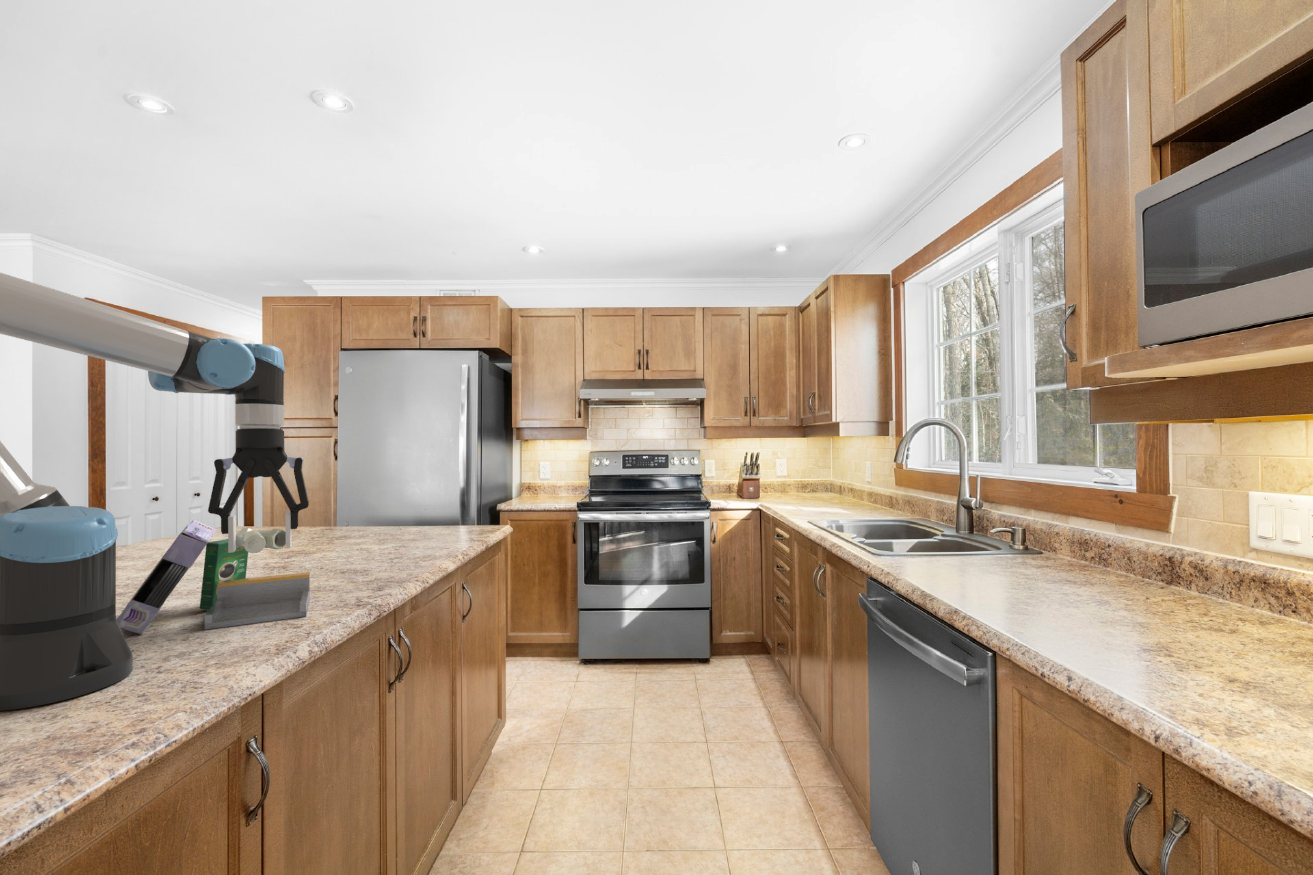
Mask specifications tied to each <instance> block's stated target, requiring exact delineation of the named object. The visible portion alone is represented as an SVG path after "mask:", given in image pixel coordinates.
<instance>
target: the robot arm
mask: <svg viewBox="0 0 1313 875" xmlns="http://www.w3.org/2000/svg"><path fill="white" fill-rule="evenodd" d="M0 335H4V336H8V337H12V338H16V339H19V340H24V341H28V342H33V343H36V344H41V345H44V346H48V347H51V348H52V347H53V348H57V349H60V350H64V351H68V352H72V353H76V354H80V355H83V356H89V357H91V358H92V357H93V358H97V359H99V360H100V359H101V360H103V361H108V362H112V363H116V364H120V365H124V366H127V367H131V368H136V369H140V370H144V371H147V377H148V381H149V384H150V386H151V387H152V388H153V390H156V391H160V392H170V393H174V394H179V393H189V394H191V393H192V394H214V395H216V394H217V395H226V396H227V395H228V396H229V395H234V398H235V401H234V403H235V405H234V406H235V408H234V409H235V417H234V418H235V425H236V426H237V427H239V428H237V429H236V430H235V452H234V454H233V455H232V457H227V458H217V459H215V460H214V461H213V462H214V468H215V475H214V480H213V485H212V490H211V495H210V499H209V504H208V508H207V512H208V513H209V514H211V515H212V514H213V515H217V516H219V517H220V533H221V534H222V535H228V537H227V539H228V553H231V552H234V551H235V550H236V534H237V515H236V514H232V512H233V510H234V507H235V505H236V503H237V502H238V501H239V500H238V499H239V498H240V496H241V494H242V492H243V490H244V489H245V487H246V485H247V483H248V481H249V480H250V478H252V479H253V478H259V477H261V478H271V479H272V480H273V482H274V483H275V486H276V488H277V489H278V491H279V493H280V495H281V496H282V498H283V500H284V502H285V503H286V504H285V505H286V506H287V507H288V509H289V511H286V512H285V532H286V544H285V549H289V548H291V547H292V544H293V543H292V538H293V537H292V534H293V533H292V532H293V531H292V530H297V529H298V527H299V512H300V511H302V510H305V509H307V508H309V507H310V506H309V505H310V502H309V501H310V500H309V498H308V493H307V488H306V484H305V477H304V474H303V465H304V458H303V457H302V456H301V457H295V456H294V457H293V456H288V455H287V453H286V452H285V430H284V429H283V428H282V427H283V426H284V425H285V402H284V400H285V399H284V396H285V373H286V372H285V371H286V370H285V363H284V361H285V360H284V353H283V351H282V350H281V349H280V348H279V347H277V346H274V345H269V344H262V343H242V342H240V341H238V340H235V339H231V338H224V337H223V338H219V337H218V338H212V337H209V336H206V335H202V334H198V333H196V332H193V331H192V332H191V331H188V330H185V329H182V328H179V327H176V326H174V325H170V324H167V323H163V322H161V321H157V320H154V319H151V318H148V317H145V316H141V315H138V314H135V313H130V312H129V311H125V310H122V309H118V308H115V307H111V306H109V305H106V304H103V303H99V302H96V301H93V300H89V299H87V298H84V297H79V296H77V295H73V294H71V293H67V292H64V291H61V290H57V289H54V288H51V287H47V286H44V285H42V284H39V283H36V282H32V281H28V280H25V279H21V278H18V277H16V276H13V275H10V274H7V273H4V272H0ZM286 463H288V465H289V468H291V469H293V475H294V480H295V485H296V488H297V494H298V499H299V503H297V502H296V500H295V498H294V497H293V494H292V492H291V491H290V489H289V487H288V485H287V484H286V482H285V480H284V478H283V476H282V473H281V472H280V470H281V469H282V467H283V466H284V465H285V464H286ZM232 464H234V465H235V466H236V467H237V469H239V471H240V472H241V473H240V474H239V476H238V478H237V480H236V483H235V484H234V486H233V488H232V490H231V492H230V494H229V496H228V497H227V500H226V502H225V504H224V506H223V507H220V506H221V501H222V497H223V496H222V495H223V492H224V487H225V482H226V477H227V474H228V473H227V471H229V470H230V469H231V466H232ZM117 540H118V529H117V526H116V520H115V517H114V515H113V513H112V512H110V511H108V510H107V509H104V508H101V507H93V506H90V507H88V506H87V507H86V506H82V505H70V504H69V503H68V502H67V500H66V499H65V498H64V496H62V494H61V493H60V491H59V490H58V489H57V487H55V486H50V485H45V484H39V483H37V482H35V481H33V479H32V478H31V477H30V475H29V474H28V473H27V472H26V471H25V470H24V469H23V467H22V465H20V463H19V462H18V461H17V460H16V458H15V457H14V456H13V454H11V452H10V451H9V450H8V449H7V448H6V446H5V445H4V443H2V441H1V440H0V712H4V711H12V710H13V711H14V710H21V709H26V708H28V709H29V708H32V707H38V706H43V705H48V704H52V703H58V702H62V701H65V700H69V699H73V698H76V697H80V696H83V695H86V694H90V693H93V692H95V691H99V690H102V689H104V688H106V687H109V686H112V685H113V684H115V683H118V682H120V681H121V680H123V679H126V677H128V676H129V675H131V673H132V672H133V670H134V666H133V665H134V662H133V661H134V660H133V652H132V649H131V648H130V645H129V643H128V641H127V639H126V637H125V635H124V633H123V629H121V628H120V626H119V624H118V622H117V614H116V613H117V612H116V610H117V609H116V606H117V604H116V603H117V597H116V596H117V594H116V593H117V589H116V588H117V584H116V583H117V580H116V579H117V578H116V577H117V574H116V572H117V566H116V565H117V564H116V563H117V562H116V561H117V552H116V550H117V549H116V548H117Z"/></svg>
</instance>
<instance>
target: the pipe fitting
mask: <svg viewBox="0 0 1313 875" xmlns="http://www.w3.org/2000/svg"><path fill="white" fill-rule="evenodd" d="M236 546H238V547H240V548H244V549H245V550H246V551H247V552H248V554H249V553H250V554H257V553H258V554H259V553H261V552H262V551H263V550H264V549H272V550H282V549H283V547H286V530H283V529H280V528H272V529H271V530H270V529H252V528H248V527H247V528H245V527H243V528H241V529H240V530H239V531H238V532H236Z"/></svg>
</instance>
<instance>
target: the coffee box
mask: <svg viewBox="0 0 1313 875" xmlns="http://www.w3.org/2000/svg"><path fill="white" fill-rule="evenodd" d="M248 556H249V552H247V551H246V550H245V549H244V548H240V547H238V546H236V550H235V551H234V552H231V553H228V538H224V539H220V540H213V541H209V542H208V543H207V545H206V546H205V554H204V564H203V573H202V582H201V583H202V584H201V590H200V591H201V593H200V599H199V600H200V603H199V610H201V611H202V610H203V611H207V612H208V611H209V609H210V608H211V607H212V606H213V605H214V603H215V602H216V601H217V583H218V582H219V581H225V580H236V579H246V578H247V568H248V558H249V557H248Z"/></svg>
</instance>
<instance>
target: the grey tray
mask: <svg viewBox="0 0 1313 875" xmlns="http://www.w3.org/2000/svg"><path fill="white" fill-rule="evenodd" d="M310 577H311V572H310V571H308V572H298V573H287V574H278V575H277V574H276V575H267V576H257V577H246V579H236V580H225V581H219V582H218V583H217V601H216V602H215V603H214V605H213V606H212V607H211V608H210V609H209V611H207V612H206V613H205V615H204V630H205V631H206V630H213V629H220V628H227V627H228V628H230V627H235V626H236V627H237V626H243V625H244V626H245V625H251V624H252V625H253V624H258V623H259V624H260V623H266V622H268V623H269V622H275V621H281V620H289V619H297V618H304V617H305V618H306V617H307V614H308V610H309V605H310V602H311V600H310V598H311V596H310V594H311V592H310V588H311V587H310V586H311V585H310V584H311V582H310V581H311V580H310Z"/></svg>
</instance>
